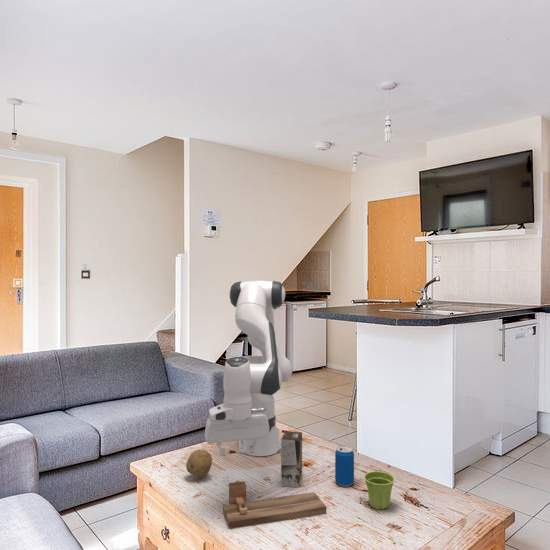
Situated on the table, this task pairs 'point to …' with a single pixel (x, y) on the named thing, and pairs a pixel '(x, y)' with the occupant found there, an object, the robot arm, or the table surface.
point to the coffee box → (291, 459)
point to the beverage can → (344, 466)
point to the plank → (274, 510)
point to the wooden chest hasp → (238, 495)
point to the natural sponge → (199, 463)
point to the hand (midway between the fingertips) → (237, 453)
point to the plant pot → (379, 488)
